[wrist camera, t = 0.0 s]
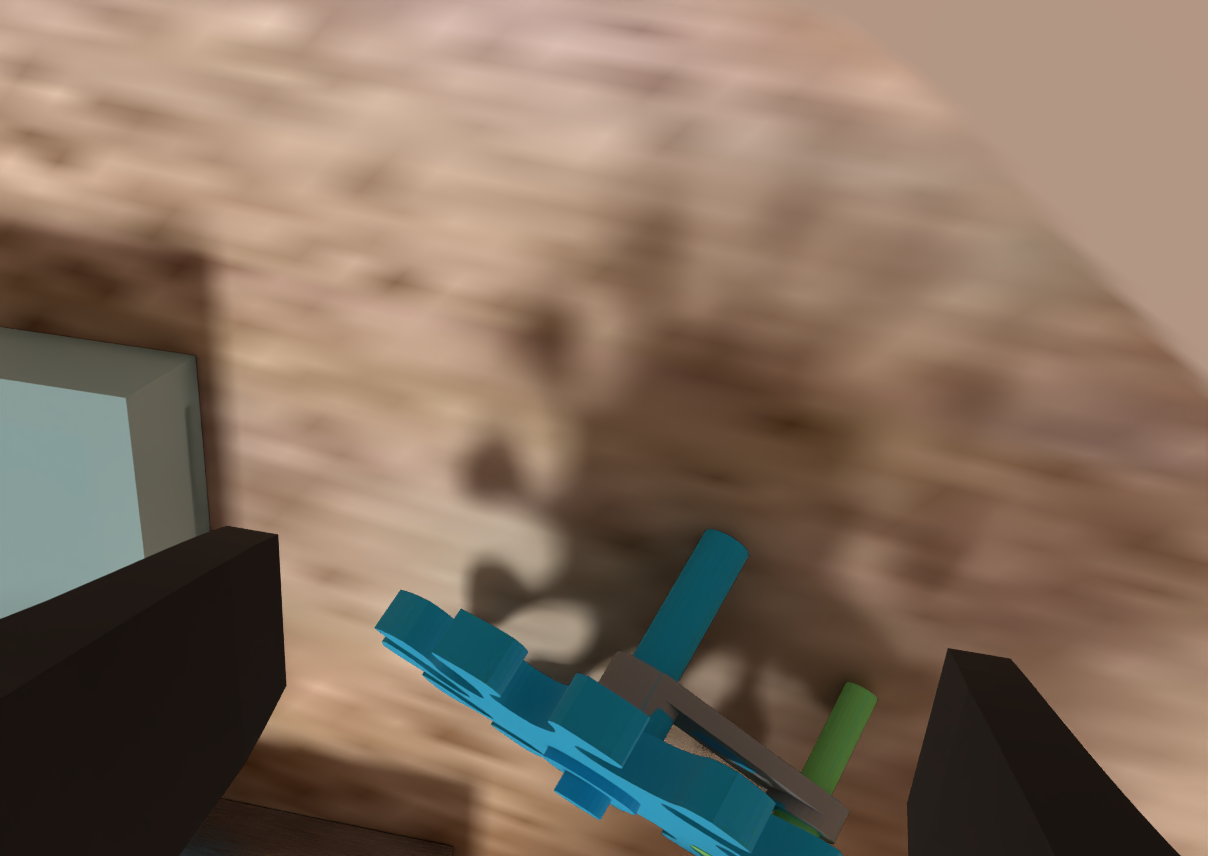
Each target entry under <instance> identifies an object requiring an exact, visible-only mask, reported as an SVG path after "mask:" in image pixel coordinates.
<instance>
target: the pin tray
mask: <svg viewBox="0 0 1208 856" xmlns="http://www.w3.org/2000/svg"><path fill="white" fill-rule="evenodd" d="M207 532H210V521H209V509H208V498H207V486H206V474H205V463H204V451H203V439H202V428H201V416H200V404H199V393H198V381H197V369H196V357H195V355H188V354H181V353H175V352H168V351H161V350H154V349H147V348H140V347H134V346H127V345H120V344H113V343H106V342H99V341H93V340H86V339H79V338H72V337H65V336H58V335H52V334H45V333H38V332H31V331H24V330H18V329H11V328H4V327H0V619H1V618H4V617H6V616H9V615H11V614H14V613H16V612H19V611H22V610H24V609H27V608H29V607H32V606H34V605H37V604H39V603H42V602H44V601H47V600H49V599H51V598H54V597H56V596H58V595H61V594H63V593H65V592H68V591H70V590H72V589H75V588H77V587H79V586H82V585H84V584H86V583H89V582H91V581H93V580H96V579H98V578H100V577H102V576H105V575H107V574H109V573H112V572H114V571H116V570H119V569H121V568H123V567H126V566H128V565H130V564H132V563H135V562H137V561H139V560H142V559H144V558H146V557H149V556H151V555H153V554H155V553H158V552H160V551H162V550H165V549H167V548H169V547H172V546H174V545H177V544H179V543H181V542H184V541H186V540H189V539H191V538H194V537H196V536H199V535H202V534H204V533H207Z"/></svg>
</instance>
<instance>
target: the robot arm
mask: <svg viewBox="0 0 1208 856" xmlns="http://www.w3.org/2000/svg"><path fill="white" fill-rule="evenodd" d="M285 687H286V670H285V652H284V633H283V615H282V596H281V578H280V559H279V541H278V534H272V533H266V532H260V531H254V530H248V529H243V528H237V527H231V526H225V527H222V528H219V529H216V530H213V531H210V532H207V533H204V534H202V535H199V536H196V537H194V538H191V539H189V540H186V541H184V542H181V543H179V544H177V545H174V546H172V547H169V548H167V549H165V550H162V551H160V552H158V553H155V554H153V555H151V556H149V557H146V558H144V559H142V560H139V561H137V562H135V563H132V564H130V565H128V566H126V567H123V568H121V569H119V570H116V571H114V572H112V573H109V574H107V575H105V576H102V577H100V578H98V579H96V580H93V581H91V582H89V583H86V584H84V585H82V586H79V587H77V588H75V589H72V590H70V591H68V592H65V593H63V594H61V595H58V596H56V597H54V598H51V599H49V600H47V601H44V602H42V603H39V604H37V605H34V606H32V607H29V608H27V609H24V610H22V611H19V612H16V613H14V614H11V615H9V616H6V617H4V618H1V619H0V856H179V855H180V854H181V852H182V851H183V849H184V848H185V847H186V845H187V844H188V843H189V841H190V840H191V838H192V837H193V836H194V834H195V833H196V832H197V830H198V829H199V828H200V826H201V825H202V823H203V822H204V821H205V819H206V818H207V816H208V815H209V814H210V812H211V811H212V809H213V808H214V807H215V805H216V804H217V802H218V801H219V800H220V798H221V797H222V795H223V794H224V793H225V791H226V790H227V788H228V787H229V786H230V784H231V783H232V781H233V780H234V778H235V777H236V776H237V774H238V773H239V771H240V770H241V768H242V767H243V765H244V764H245V762H246V761H247V759H248V757H249V755H250V753H251V752H252V750H253V748H254V746H255V744H256V743H257V741H258V739H259V737H260V735H261V734H262V732H263V730H264V728H265V726H266V724H267V722H268V720H269V718H270V716H271V715H272V713H273V711H274V709H275V707H276V705H277V703H278V701H279V699H280V697H281V695H282V693H283V691H284V689H285ZM907 816H908V854H909V856H1180V855H1179V854H1178V853H1177V852H1176V851H1175V850H1174V848H1173V847H1172V846H1171V845H1170V844H1169V843H1168V842H1167V841H1166V840H1165V839H1164V838H1163V837H1162V836H1161V835H1160V834H1159V832H1158V831H1157V830H1156V829H1155V828H1154V827H1153V826H1152V825H1151V824H1150V823H1149V822H1148V820H1147V819H1146V818H1145V817H1144V816H1143V815H1142V814H1141V813H1140V812H1139V811H1138V809H1137V808H1136V807H1135V806H1134V805H1133V804H1132V803H1131V802H1130V800H1129V799H1128V798H1127V797H1126V796H1125V795H1124V794H1123V793H1122V791H1121V790H1120V789H1119V788H1118V787H1117V786H1116V784H1115V783H1114V782H1113V781H1112V780H1111V779H1110V778H1109V776H1108V775H1107V774H1106V773H1105V772H1104V771H1103V769H1102V768H1101V767H1100V766H1099V765H1098V763H1097V762H1096V761H1095V760H1094V759H1093V758H1092V756H1091V755H1090V754H1089V753H1088V752H1087V750H1086V749H1085V748H1084V747H1083V746H1082V744H1081V743H1080V742H1079V741H1078V740H1077V738H1076V737H1075V736H1074V735H1073V734H1072V732H1071V731H1070V730H1069V729H1068V728H1067V726H1066V725H1065V724H1064V723H1063V721H1062V720H1061V719H1060V718H1059V717H1058V715H1057V714H1056V713H1055V712H1054V710H1053V709H1052V708H1051V707H1050V706H1049V704H1048V703H1047V702H1046V701H1045V699H1044V698H1043V697H1042V696H1041V694H1040V693H1039V692H1038V691H1037V690H1036V688H1035V687H1034V686H1033V685H1032V683H1031V682H1030V681H1029V680H1028V679H1027V677H1026V676H1025V675H1024V674H1023V673H1022V671H1021V670H1020V669H1019V668H1018V667H1017V666H1016V664H1015V663H1014V662H1013V661H1012V660H1011V659H1009V658H1003V657H997V656H991V655H985V654H979V653H974V652H968V651H962V650H956V649H950V648H948V650H947V654H946V658H945V661H944V665H943V669H942V673H941V677H940V680H939V684H938V688H937V692H936V696H935V699H934V703H933V707H932V711H931V715H930V718H929V722H928V726H927V730H926V734H925V738H924V741H923V745H922V749H921V753H920V757H919V760H918V764H917V768H916V772H915V776H914V779H913V783H912V787H911V791H910V795H909V798H908V802H907Z"/></svg>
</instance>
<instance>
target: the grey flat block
mask: <svg viewBox="0 0 1208 856" xmlns="http://www.w3.org/2000/svg"><path fill="white" fill-rule="evenodd" d="M179 856H453V847H452V846H447V845H442V844H437V843H433V842H428V841H423V840H418V839H413V838H408V837H403V836H399V835H394V834H389V833H384V832H379V831H374V830H369V829H365V828H360V827H355V826H350V825H345V824H340V823H335V822H331V821H326V820H321V819H316V818H311V817H306V816H301V815H297V814H292V813H287V812H282V811H277V810H272V809H268V808H263V807H258V806H253V805H248V804H243V803H238V802H234V801H229V800H224V799H220V800H219V801H218V802H217V804H216V805H215V807H214V808H213V809H212V811H211V812H210V814H209V815H208V816H207V818H206V819H205V821H204V822H203V823H202V825H201V826H200V828H199V829H198V830H197V832H196V833H195V834H194V836H193V837H192V838H191V840H190V841H189V843H188V844H187V845H186V847H185V848H184V849H183V851H182V852H181V854H180V855H179Z"/></svg>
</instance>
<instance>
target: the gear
mask: <svg viewBox="0 0 1208 856" xmlns="http://www.w3.org/2000/svg"><path fill="white" fill-rule="evenodd" d="M748 556H749V553H748V551H747V549H746V548H745V547H744V546H743V545H742V544H741V543H740V542H738V541H737V540H735V539H734V538H732V537H731V536H729V535H727V534H725V533H723V532H720V531H717V530H713V529H707V530H706V531H705V532H704V534H703V536H702V538H701V539H700V541H699V543H698V544H697V546H696V548H695V550H694V551H693V553H692V555H691V556H690V558H689V560H688V562H687V563H686V565H685V567H684V568H683V570H682V572H681V574H680V575H679V577H678V579H677V580H676V582H675V584H674V586H673V587H672V589H671V591H670V592H669V594H668V596H667V598H666V599H665V601H664V603H663V604H662V606H661V608H660V609H659V611H658V613H657V615H656V616H655V618H654V620H653V621H652V623H651V625H650V627H649V628H648V630H647V632H646V633H645V635H644V637H643V639H642V640H641V642H640V644H639V645H638V647H637V649H636V651H635V652H634V654H633V655H631V654H628V653H625V652H622V651H617V652H616V653H615V655H614V657H613V659H612V660H611V662H610V664H609V665H608V667H607V669H606V670H605V672H604V674H603V675H602V677H601V679H600V681H599V682H597V681H595V680H593V679H592V678H590V677H589V676H586V675H584V674H580V673H577V674H576V675H575V676H574V678H573V680H572V681H571V683H570V685H569V686H568V685H564V684H561V683H559V682H557V681H555V680H553V679H551V678H550V677H548V676H546V675H544V674H543V673H541V672H540V671H538V670H536V669H535V668H533V667H532V666H531V665H529V664H528V663H526V662H525V661H524V658H525V657H526V655H527V653H528V651H527V649H526V648H525V647H524V646H523V645H522V644H520V643H519V642H518V641H517V640H516V639H514V638H513V637H511V636H509V635H508V634H506V633H504V632H503V631H501V630H499V629H498V628H496V627H494V626H492V625H491V624H489V623H487V622H485V621H483V620H482V619H480V618H478V617H476V616H474V615H472V614H470V613H468V612H466V611H465V610H463V609H460V611H459V612H458V614H457V615H456V617H455V618H454V619H453V618H452V617H451V616H450V615H448V614H447V613H446V612H444V611H443V610H442V609H440V608H439V607H438V606H436V605H435V604H433V603H432V602H430V601H428V600H426V599H424V598H422V597H420V596H418V595H415V594H413V593H410V592H407V591H404V590H400V591H399V593H398V594H397V596H396V597H395V599H394V600H393V602H392V603H391V604H390V606H389V607H388V609H387V610H386V612H385V613H384V615H383V616H382V617H381V619H380V620H379V622H378V623H377V625H376V626H375V629H376V630H378V631H379V632H380V633H381V634H383V635H384V636H385V638H384V639H383V641H382V643H383V645H384V646H385V647H387V648H388V649H390V650H391V651H392V652H394V653H395V654H397V655H398V656H400V657H402V658H403V659H405V660H406V661H408V662H409V663H411V664H413V665H414V666H416V667H418V668H419V669H421V670H423V671H424V673H423V674H422V675H423V676H424V677H425V678H426V679H427V680H428V681H429V682H431V683H432V684H433V685H434V686H436V687H437V688H438V689H440V690H441V691H443V692H444V693H446V694H447V695H449V696H450V697H452V698H454V699H455V700H457V701H459V702H460V703H462V704H464V705H466V706H468V707H470V708H471V709H473V710H475V711H477V712H479V713H480V714H482V715H484V716H485V717H487V718H489V719H490V720H492V721H493V722H492V723H491V725H492V726H493V727H495V728H496V729H497V730H499V731H500V732H501V733H503V734H504V735H506V736H507V737H508V738H510V739H511V740H513V741H514V742H516V743H517V744H519V745H520V746H522V747H523V748H525V749H526V750H528V751H530V752H532V753H533V754H535V755H538V756H541V757H543V758H544V759H546V760H547V761H548V762H549V763H551V764H552V765H553V766H555V767H556V768H557V769H559V770H560V771H562V772H563V773H564V774H563V776H562V777H561V779H560V781H559V782H558V784H557V786H556V788H555V789H554V791H555V792H556V793H558V794H559V795H560V796H562V797H563V798H565V799H566V800H568V801H569V802H571V803H572V804H574V805H575V806H577V807H579V808H580V809H582V810H583V811H585V812H587V813H588V814H590V815H592V816H593V817H595V818H597V819H599V820H601V818H602V816H603V815H604V813H605V811H606V809H607V807H608V806H609V804H611V805H613V806H614V807H616V808H618V809H620V810H622V811H626V812H628V813H630V814H632V815H636V813H637V814H639V815H641V816H642V817H644V818H646V819H648V820H649V821H651V822H653V823H654V824H656V825H657V826H659V827H661V828H662V829H663V831H662V834H663V835H664V836H665V837H667V838H668V839H670V840H671V841H673V842H674V843H676V844H677V845H679V846H681V847H682V848H684V849H686V850H687V851H689V852H690V853H692V854H694V855H695V856H843V855H842V853H841V852H840V851H839V850H838V849H836V848H834V847H833V846H831V845H830V844H834V843H835V841H836V839H837V837H838V835H839V833H840V831H841V828H842V826H843V824H844V822H845V820H846V818H847V816H848V814H849V810H848V809H847V808H846V807H845V806H844V805H843V804H842V803H841V802H839V801H838V800H837V799H835V798H834V797H833V796H831V795H832V793H833V791H834V789H835V787H836V785H837V783H838V781H839V779H840V777H841V775H842V773H843V770H844V768H845V766H846V764H847V762H848V760H849V758H850V756H851V754H852V752H853V750H854V748H855V746H856V744H857V741H858V739H859V737H860V735H861V733H862V731H863V729H864V727H865V725H866V723H867V721H868V719H869V717H870V714H871V712H872V710H873V708H874V706H875V704H876V702H877V700H878V699H877V697H876V696H875V695H874V694H872V693H871V692H870V691H868V690H867V689H865V688H863V687H861V686H859V685H857V684H854V683H850V682H847V683H846V684H845V686H844V688H843V690H842V692H841V694H840V696H839V698H838V700H837V702H836V704H835V706H834V708H833V710H832V712H831V714H830V716H829V718H828V720H827V722H826V724H825V726H824V728H823V730H822V732H821V734H820V736H819V738H818V740H817V742H816V744H815V746H814V748H813V750H812V752H811V754H810V756H809V758H808V760H807V762H806V764H805V766H804V768H803V770H802V772H801V773H800V772H799V771H797V770H796V769H795V768H793V767H792V766H791V765H789V764H788V763H786V762H785V761H784V760H782V759H781V758H780V757H778V756H777V755H776V754H774V753H773V752H772V751H770V750H769V749H767V748H766V747H765V746H763V745H762V744H761V743H759V742H758V741H757V740H755V739H754V738H752V737H751V736H750V735H748V734H747V733H746V732H744V731H743V730H742V729H740V728H739V727H737V726H736V725H735V724H733V723H732V722H731V721H729V720H728V719H727V718H725V717H724V716H723V715H721V714H720V713H718V712H717V711H716V710H714V709H713V708H712V707H710V706H709V705H708V704H706V703H705V702H703V701H702V700H701V699H699V698H698V697H697V696H695V695H694V694H693V693H691V692H690V691H689V690H687V689H686V688H684V687H683V686H682V685H680V684H679V683H678V681H679V679H680V677H681V676H682V674H683V672H684V670H685V668H686V667H687V665H688V663H689V661H690V660H691V658H692V656H693V654H694V652H695V651H696V649H697V647H698V645H699V644H700V642H701V640H702V638H703V636H704V635H705V633H706V631H707V629H708V628H709V626H710V624H711V622H712V620H713V619H714V617H715V615H716V613H717V611H718V610H719V608H720V606H721V604H722V603H723V601H724V599H725V597H726V595H727V594H728V592H729V590H730V588H731V587H732V585H733V583H734V581H735V579H736V578H737V576H738V574H739V572H740V570H741V569H742V567H743V565H744V563H745V562H746V560H747V558H748ZM673 724H674V725H676V726H677V727H678V728H680V729H681V730H683V731H684V732H685V733H687V734H688V735H690V736H691V737H692V738H694V739H695V740H697V741H698V742H699V743H701V744H702V745H703V746H705V747H706V748H708V749H709V750H710V751H712V752H713V753H715V754H716V755H717V756H719V757H720V758H722V759H723V760H724V761H726V762H727V763H729V764H730V765H731V766H733V767H734V768H735V769H737V770H738V771H740V772H741V773H742V774H744V775H745V776H747V777H748V778H749V779H751V780H752V781H754V782H755V783H756V784H758V785H759V786H760V787H762V788H763V789H765V790H766V793H765V792H763V791H762V790H761V789H760V788H758V787H757V786H756V785H755V784H753V783H752V782H751V781H749V780H748V779H747V778H745V777H744V776H743V775H742V774H740V773H739V772H737V771H735V770H734V769H732V768H730V767H728V766H726V765H724V764H722V763H720V762H718V761H716V760H713V759H711V758H708V757H702V756H698V755H694V754H691V753H689V752H686V751H683V750H681V749H679V748H676V747H674V746H672V745H670V744H668V743H666V742H664V739H665V737H666V736H667V734H668V732H669V730H670V728H671V727H672V725H673ZM772 812H773V814H771V813H772ZM828 843H829V844H828Z"/></svg>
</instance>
